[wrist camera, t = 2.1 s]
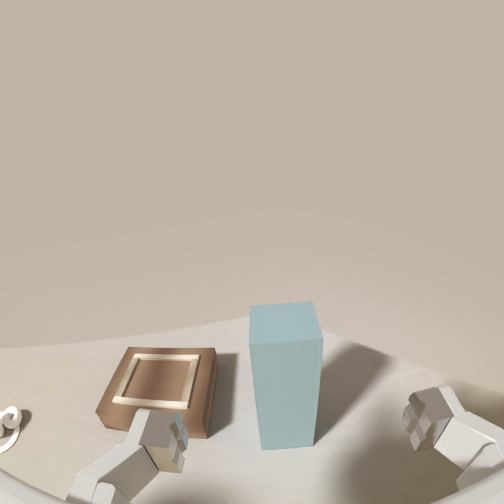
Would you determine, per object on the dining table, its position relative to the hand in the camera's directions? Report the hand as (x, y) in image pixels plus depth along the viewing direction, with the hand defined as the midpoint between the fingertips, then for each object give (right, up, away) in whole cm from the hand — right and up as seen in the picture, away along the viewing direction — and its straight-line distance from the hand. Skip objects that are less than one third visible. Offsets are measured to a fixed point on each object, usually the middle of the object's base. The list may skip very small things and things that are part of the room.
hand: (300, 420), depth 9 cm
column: (+2, -12, +18) cm, 22 cm away
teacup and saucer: (-31, -18, +13) cm, 38 cm away
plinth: (-12, -12, +23) cm, 28 cm away
